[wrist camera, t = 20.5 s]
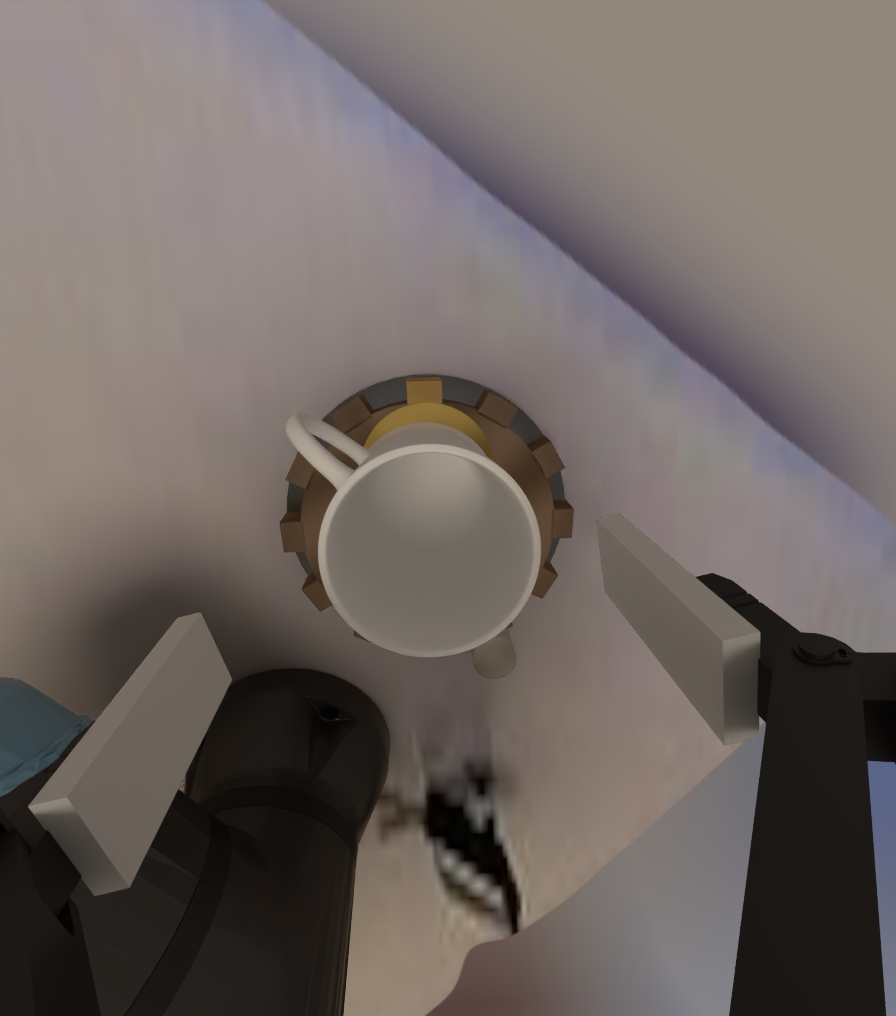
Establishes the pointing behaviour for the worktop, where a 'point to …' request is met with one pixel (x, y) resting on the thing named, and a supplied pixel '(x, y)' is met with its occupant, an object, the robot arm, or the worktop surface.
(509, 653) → the sprocket
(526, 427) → the base plate
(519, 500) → the mug
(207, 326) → the worktop surface
